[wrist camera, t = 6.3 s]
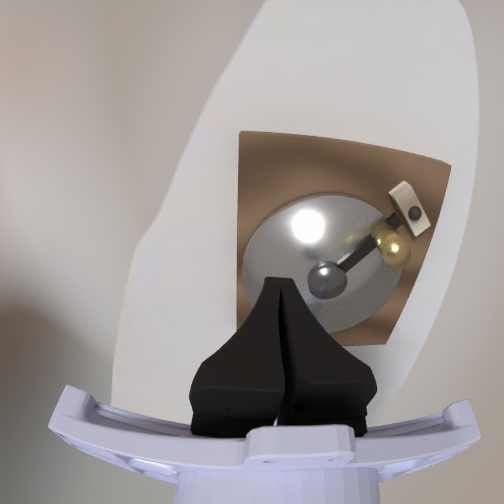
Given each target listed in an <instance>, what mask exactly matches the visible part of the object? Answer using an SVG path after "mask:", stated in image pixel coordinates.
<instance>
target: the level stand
mask: <svg viewBox="0 0 504 504" xmlns="http://www.w3.org/2000/svg"><path fill="white" fill-rule="evenodd" d="M450 171H451V165H449V164H447V163H445V162H443V161H440V160H436V159H433V158H429V157H425V156H421V155H417V154H413V153H409V152H405V151H400V150H396V149H391V148H386V147H381V146H376V145H370V144H365V143H359V142H353V141H347V140H340V139H333V138H325V137H317V136H308V135H298V134H286V133H272V132H254V131H241V132H240V133H239V164H238V214H237V330H238V329H239V328H240V326H241V325H242V324H243V323H244V321H245V320H246V318H247V317H248V315H249V314H250V312H251V310H252V309H253V307H252V306H251V304H250V302H249V301H248V299H247V297H246V294H245V292H244V289H243V284H242V265H243V258H244V252H245V249H246V245H247V243H248V241H249V239H250V236H251V235H252V233H253V232H254V230H255V228H256V227H257V226H258V225H259V223H260V222H261V221H262V220H263V219H264V218H265V217H266V216H267V215H268V214H269V213H271V212H272V211H273V210H274V209H276V208H277V207H279V206H280V205H282V204H284V203H286V202H288V201H290V200H292V199H294V198H297V197H300V196H303V195H306V194H311V193H316V192H327V191H330V192H342V193H347V194H352V195H355V196H357V197H360V198H362V199H364V200H366V201H368V202H370V203H371V204H373V205H374V206H375V207H377V208H378V209H379V210H380V211H381V212H382V213H383V214H384V215H385V216H386V217H387V218H388V217H389V216H390V215H391V214H392V213H393V212H395V213H396V214H397V215H398V217H399V218H400V219H401V221H402V222H403V224H402V225H401V226H400V227H399V228H397V229H396V231H397V233H398V234H399V235H400V237H401V238H402V239H403V240H404V242H405V243H406V244H407V246H408V247H409V248H410V250H411V259H410V261H409V262H408V264H407V265H406V266H404V267H403V268H402V272H401V276H400V279H399V282H398V284H397V286H396V288H395V290H394V292H393V293H392V295H391V296H390V298H389V299H388V300H387V301H386V303H385V304H384V305H383V306H382V307H381V308H380V309H379V310H378V311H376V312H375V313H374V314H373V315H371V316H370V317H369V318H367V319H365V320H364V321H362V322H360V323H358V324H357V325H354V326H352V327H350V328H347V329H344V330H341V331H337V332H333V333H329V335H330V336H331V337H332V338H333V339H334V340H335V341H337V342H338V343H339V344H340V345H341V346H355V345H379V344H386V342H387V340H388V338H389V336H390V335H391V333H392V331H393V329H394V327H395V325H396V323H397V321H398V319H399V317H400V315H401V313H402V311H403V308H404V306H405V304H406V302H407V300H408V298H409V295H410V293H411V291H412V289H413V286H414V284H415V281H416V279H417V277H418V274H419V272H420V269H421V267H422V264H423V261H424V259H425V256H426V253H427V251H428V248H429V245H430V242H431V239H432V236H433V233H434V230H435V227H436V224H437V221H438V217H439V214H440V211H441V207H442V203H443V200H444V196H445V192H446V188H447V184H448V180H449V175H450Z"/></svg>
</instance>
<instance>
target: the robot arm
mask: <svg viewBox="0 0 504 504" xmlns="http://www.w3.org/2000/svg"><path fill="white" fill-rule="evenodd" d="M376 392H377V385H376V381H375V378H374V375H373V373H372V370H371V368H370V367H369V366H368V365H366V364H365V363H363V362H362V361H360V360H359V359H357V358H356V357H354V356H353V355H352V354H350V353H349V352H348V351H347V350H345V349H344V348H343V347H342V346H341V345H340V344H339V343H338V342H337V341H335V340H334V339H333V338H332V337H331V336H330V335H329V333H328V332H327V331H326V330H325V329H324V328H323V327H322V325H321V324H320V323H319V322H318V320H317V319H316V318H315V316H314V315H313V313H312V312H311V310H310V309H309V307H308V306H307V304H306V303H305V301H304V299H303V297H302V296H301V294H300V292H299V290H298V288H297V286H296V284H295V282H294V280H293V279H292V278H283V277H268V276H267V277H265V278H264V284H263V288H262V290H261V293H260V295H259V297H258V299H257V301H256V303H255V305H254V307H253V309H252V310H251V312H250V314H249V315H248V317H247V318H246V320H245V321H244V323H243V324H242V325H241V326H240V328H239V329H238V330H237V331H236V333H235V334H234V335H233V336H232V337H231V338H230V339H229V340H228V341H227V342H226V343H225V344H224V345H223V346H222V347H221V348H220V349H219V350H218V351H216V352H215V353H214V354H213V355H211V356H210V357H209V358H207V359H206V360H205V361H203V362H202V364H201V365H200V367H199V369H198V371H197V373H196V375H195V377H194V379H193V382H192V385H191V389H190V393H189V400H190V403H191V406H192V410H193V417H192V423H191V425H188V424H182V423H176V422H171V421H166V420H161V419H157V418H152V417H148V416H144V415H140V414H136V413H132V412H128V411H125V410H121V409H118V408H115V407H111V406H108V405H105V404H102V403H99V402H96V401H95V399H94V398H93V396H92V395H91V394H90V393H88V392H86V391H84V390H81V389H78V388H76V387H73V386H71V385H66V387H65V389H64V391H63V393H62V395H61V397H60V399H59V402H58V404H57V406H56V408H55V410H54V413H53V415H52V417H51V419H50V422H49V424H48V427H49V428H50V429H51V430H52V431H53V432H55V433H56V434H57V435H58V436H60V437H61V438H62V439H63V440H65V441H66V442H67V443H68V444H70V445H71V446H73V447H74V448H76V449H78V450H81V451H83V452H85V453H87V454H90V455H92V456H94V457H97V458H99V459H102V460H104V461H106V462H109V463H112V464H114V465H116V466H119V467H122V468H124V469H127V470H130V471H133V472H136V473H139V474H142V475H145V476H148V477H151V478H154V479H158V480H162V481H165V482H169V483H173V484H177V487H176V493H175V499H174V504H380V496H379V486H378V483H379V482H383V481H386V480H390V479H393V478H397V477H400V476H403V475H406V474H409V473H412V472H415V471H418V470H421V469H423V468H426V467H429V466H431V465H434V464H437V463H439V462H442V461H444V460H447V459H449V458H452V457H454V456H455V455H457V454H458V453H460V452H461V451H463V450H464V449H466V448H467V447H469V446H470V445H472V444H473V443H475V442H476V441H477V440H479V439H480V438H481V434H480V431H479V428H478V425H477V422H476V419H475V416H474V413H473V410H472V408H471V405H470V402H469V400H468V399H465V400H462V401H458V402H455V403H452V404H451V405H449V406H448V407H446V408H445V409H444V410H443V412H442V413H438V414H434V415H430V416H427V417H422V418H418V419H414V420H409V421H405V422H399V423H395V424H389V425H383V426H376V427H369V428H367V425H366V420H365V417H366V416H367V409H366V406H367V405H368V404H369V402H370V401H371V400H372V399H373V397H374V396H375V394H376Z"/></svg>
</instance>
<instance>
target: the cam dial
mask: <svg viewBox="0 0 504 504" xmlns="http://www.w3.org/2000/svg"><path fill="white" fill-rule="evenodd" d="M402 224H403V222H402V221H401V219H400V218H399V217H398V215H397V214H396V213H395V212H393V213H392V214H391V215H390V216H389V217H388V218H387V217H386V216H385V215H384V214H383V213H382V212H381V211H380V210H379V209H378V208H377V207H375V206H374V205H373V204H371V203H370V202H368V201H366V200H364V199H362V198H360V197H357V196H355V195H352V194H347V193H342V192H330V191H327V192H316V193H311V194H306V195H303V196H300V197H297V198H294V199H292V200H290V201H288V202H286V203H284V204H282V205H280V206H279V207H277V208H276V209H274V210H273V211H272V212H271V213H269V214H268V215H267V216H266V217H265V218H264V219H263V220H262V221H261V222H260V223H259V225H258V226H257V227H256V228H255V230H254V232H253V233H252V235H251V236H250V239H249V241H248V243H247V245H246V249H245V252H244V258H243V265H242V284H243V289H244V292H245V294H246V297H247V299H248V301H249V302H250V304H251V306H252V307H254V305H255V303H256V301H257V299H258V297H259V295H260V293H261V290H262V288H263V284H264V278H265V277H267V276H268V277H283V278H292V279H293V280H294V282H295V284H296V286H297V288H298V290H299V292H300V294H301V296H302V297H303V299H304V301H305V303H306V304H307V306H308V307H309V309H310V310H311V312H312V313H313V315H314V316H315V318H316V319H317V320H318V322H319V323H320V324H321V325H322V327H323V328H324V329H325V330H326V331H327V332H328V333H333V332H337V331H341V330H344V329H347V328H350V327H352V326H354V325H357V324H358V323H360V322H362V321H364V320H365V319H367V318H369V317H370V316H371V315H373V314H374V313H375V312H376V311H378V310H379V309H380V308H381V307H382V306H383V305H384V304H385V303H386V301H387V300H388V299H389V298H390V296H391V295H392V293H393V292H394V290H395V288H396V286H397V284H398V282H399V279H400V276H401V272H402V268H403V267H404V266H406V265H407V264H408V262H409V261H410V259H411V250H410V248H409V247H408V246H407V244H406V243H405V242H404V240H403V239H402V238H401V237H400V235H399V234H398V233H397V231H396V229H397V228H399V227H400V226H401V225H402Z"/></svg>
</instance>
